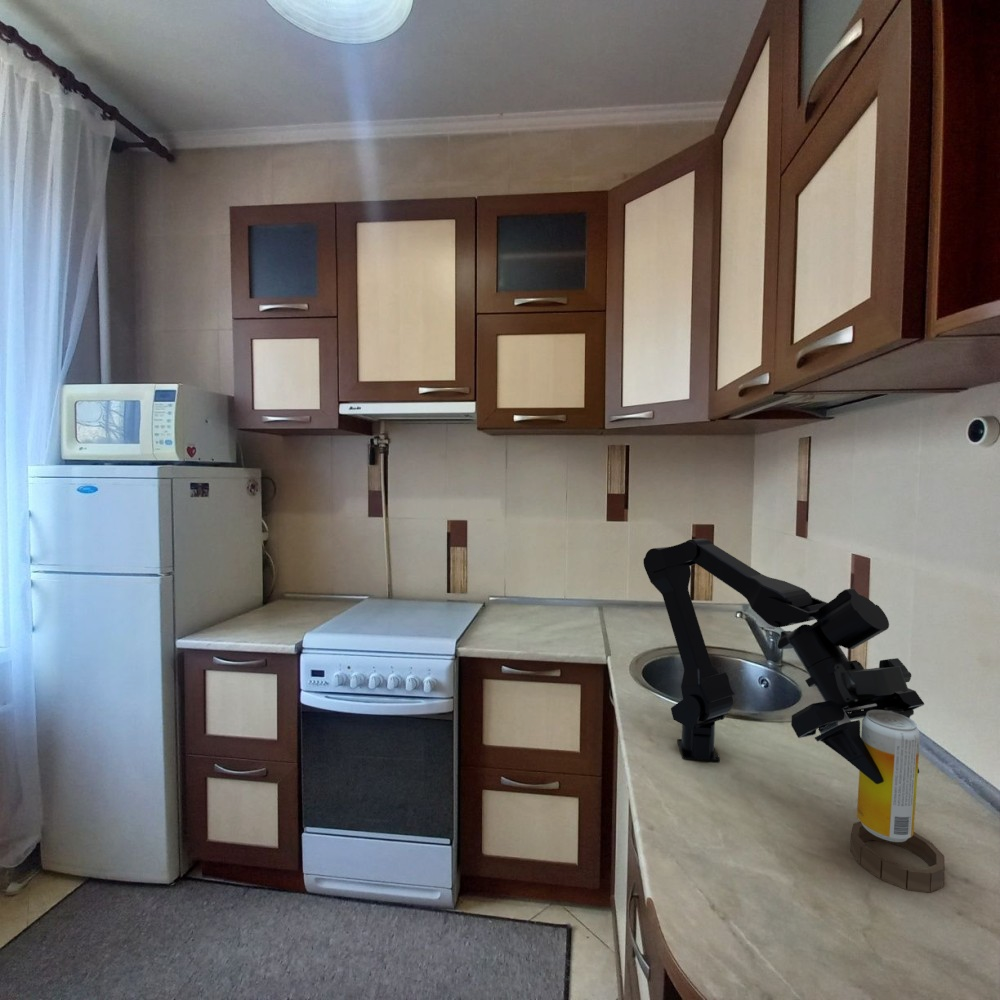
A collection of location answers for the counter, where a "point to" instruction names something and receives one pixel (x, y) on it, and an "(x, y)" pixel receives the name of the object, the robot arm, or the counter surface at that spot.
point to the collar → (895, 872)
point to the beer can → (889, 775)
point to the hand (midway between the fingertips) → (898, 778)
